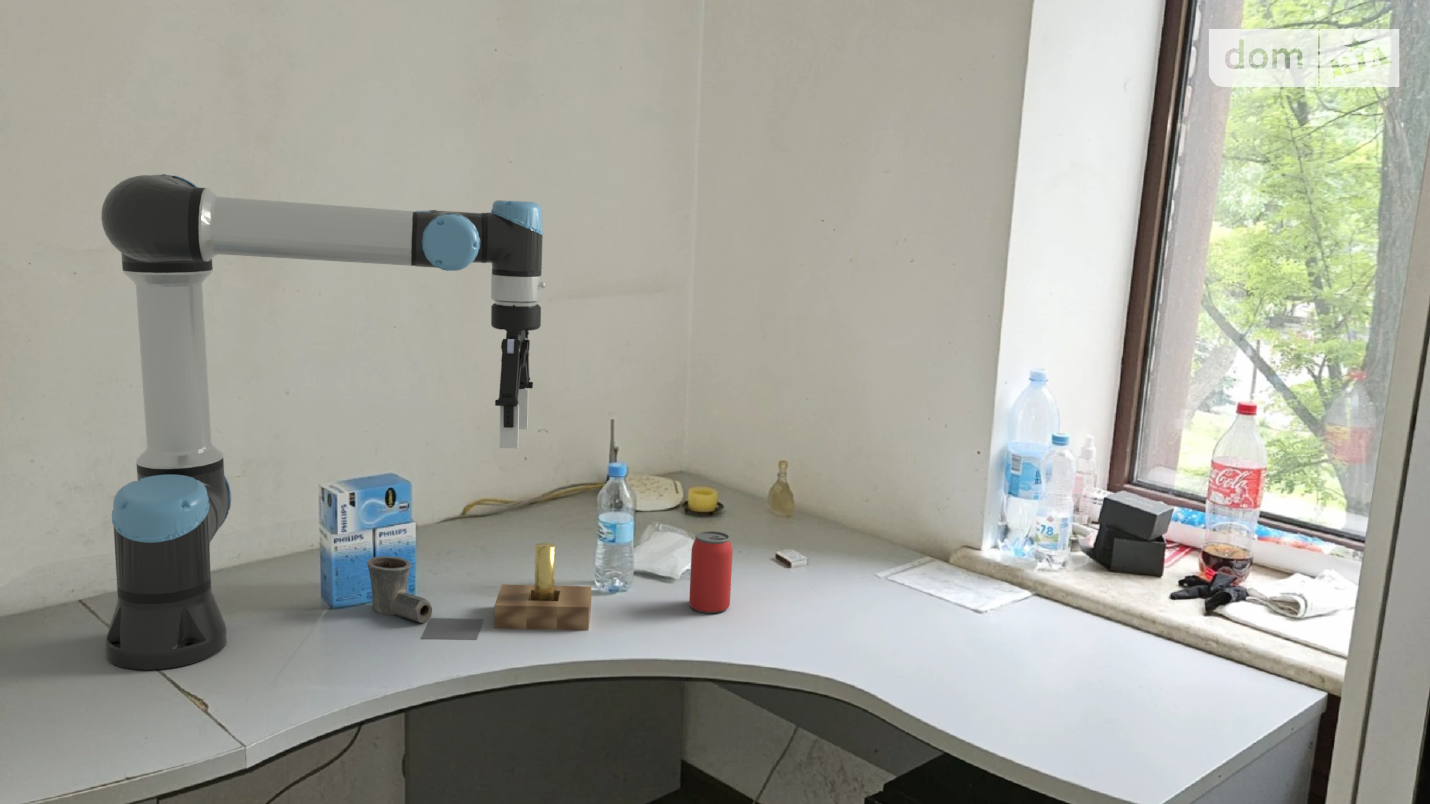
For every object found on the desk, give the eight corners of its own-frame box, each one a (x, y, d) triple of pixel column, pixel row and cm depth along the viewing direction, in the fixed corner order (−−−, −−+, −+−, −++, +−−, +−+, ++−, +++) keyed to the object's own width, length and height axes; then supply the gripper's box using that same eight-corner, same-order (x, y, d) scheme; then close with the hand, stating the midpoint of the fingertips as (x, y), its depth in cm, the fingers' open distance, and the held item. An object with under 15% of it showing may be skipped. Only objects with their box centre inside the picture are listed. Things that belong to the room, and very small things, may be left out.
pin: (533, 623, 172) (534, 548, 170) (534, 616, 175) (536, 542, 173) (553, 624, 172) (554, 549, 170) (554, 616, 175) (556, 542, 173)
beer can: (729, 615, 179) (733, 543, 177) (688, 613, 179) (691, 541, 177) (729, 601, 186) (733, 531, 183) (690, 598, 186) (693, 528, 183)
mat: (420, 641, 164) (420, 638, 164) (430, 620, 171) (430, 618, 171) (476, 642, 164) (476, 639, 164) (483, 621, 172) (483, 619, 172)
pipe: (409, 632, 167) (409, 580, 165) (357, 610, 174) (356, 560, 173) (442, 621, 172) (442, 571, 170) (390, 599, 179) (389, 551, 178)
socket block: (494, 630, 169) (494, 605, 168) (501, 608, 178) (501, 584, 177) (588, 632, 170) (588, 607, 169) (590, 610, 179) (591, 586, 178)
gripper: (532, 312, 161) (530, 457, 165) (548, 296, 185) (545, 422, 189) (479, 310, 160) (478, 455, 164) (501, 294, 185) (500, 420, 189)
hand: (514, 438), depth 177 cm, fingers open, 13 cm apart
